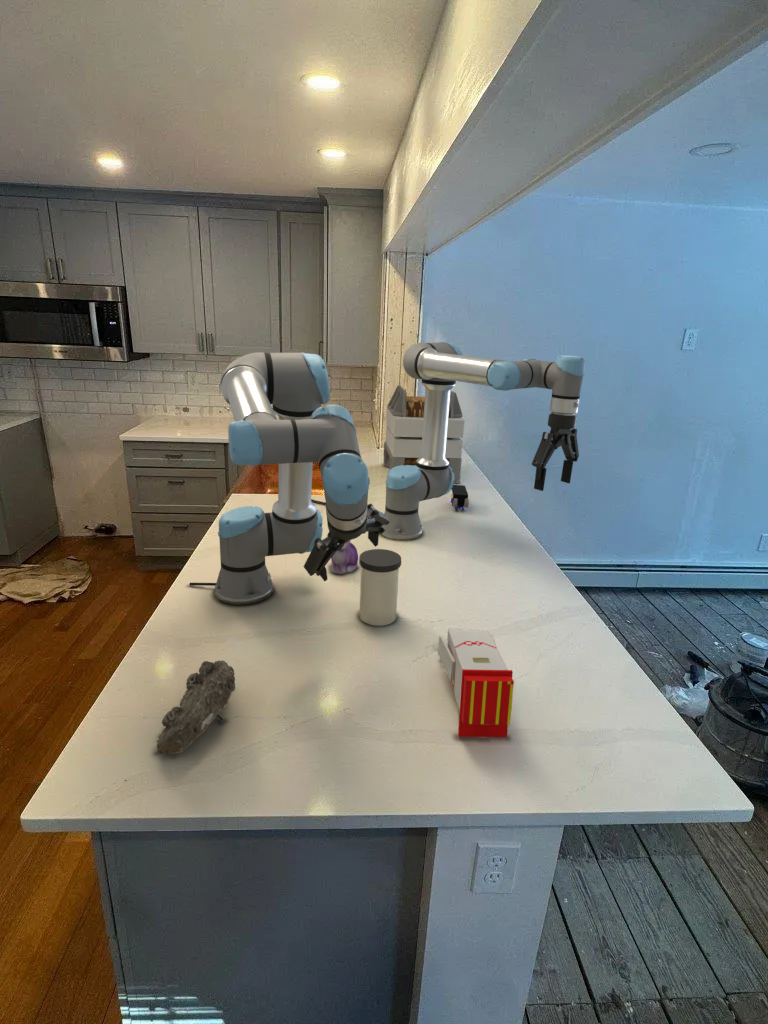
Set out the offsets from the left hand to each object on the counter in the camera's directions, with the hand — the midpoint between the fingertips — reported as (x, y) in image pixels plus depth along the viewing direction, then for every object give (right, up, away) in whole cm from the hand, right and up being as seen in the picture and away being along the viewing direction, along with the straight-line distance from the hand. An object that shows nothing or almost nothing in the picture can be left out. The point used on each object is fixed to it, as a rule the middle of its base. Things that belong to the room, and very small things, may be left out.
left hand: (348, 558), depth 124 cm
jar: (+6, -17, +22) cm, 29 cm away
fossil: (-26, -29, -16) cm, 43 cm away
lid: (+7, -1, +17) cm, 18 cm away
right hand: (+57, +18, +42) cm, 73 cm away
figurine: (-4, -7, +48) cm, 49 cm away
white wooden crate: (+25, +29, +151) cm, 156 cm away
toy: (+26, -27, -5) cm, 38 cm away
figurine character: (+38, +12, +106) cm, 113 cm away
